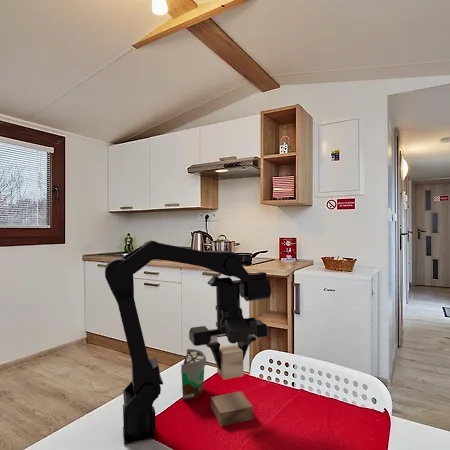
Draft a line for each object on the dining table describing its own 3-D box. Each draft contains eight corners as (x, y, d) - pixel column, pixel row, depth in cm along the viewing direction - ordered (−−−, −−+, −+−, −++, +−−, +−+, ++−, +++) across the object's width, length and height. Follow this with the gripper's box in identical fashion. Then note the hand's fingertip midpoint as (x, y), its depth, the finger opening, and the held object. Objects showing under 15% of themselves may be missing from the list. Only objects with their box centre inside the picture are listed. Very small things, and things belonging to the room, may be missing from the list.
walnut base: (220, 426, 79) (220, 413, 79) (211, 409, 87) (210, 397, 87) (253, 419, 82) (252, 406, 82) (241, 402, 89) (240, 391, 89)
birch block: (217, 371, 86) (216, 346, 86) (236, 368, 88) (235, 344, 88) (223, 379, 81) (222, 353, 81) (243, 376, 83) (242, 350, 83)
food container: (205, 403, 90) (204, 364, 90) (182, 404, 90) (180, 365, 90) (209, 381, 102) (208, 347, 102) (188, 382, 102) (187, 348, 102)
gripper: (199, 315, 74) (201, 388, 74) (278, 306, 80) (279, 374, 80) (187, 304, 84) (189, 368, 84) (258, 297, 90) (259, 357, 90)
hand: (229, 367), depth 84 cm, fingers closed on birch block, 5 cm apart
